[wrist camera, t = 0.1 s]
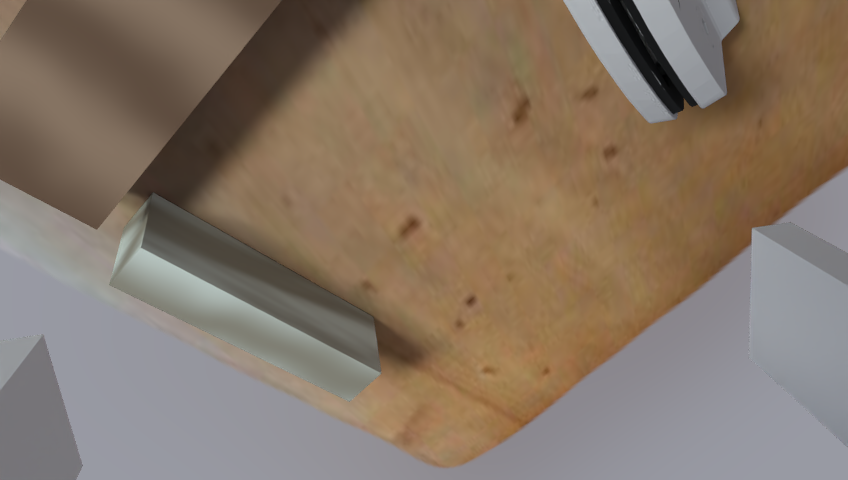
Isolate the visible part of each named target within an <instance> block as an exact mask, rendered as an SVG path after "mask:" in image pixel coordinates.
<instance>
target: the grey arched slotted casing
mask: <svg viewBox="0 0 848 480" xmlns="http://www.w3.org/2000/svg"><path fill="white" fill-rule="evenodd" d="M563 1H564V2H565V4H566V6H567V7H568V9H569V11H570V13H571V14H572V16H573V18H574V19H575V21H576V23H577V24H578V26H579V28H580V29H581V31H582V33H583V34H584V36H585V38H586V39H587V41H588V42H589V44H590V45H591V47H592V49H593V50H594V52H595V53H596V55H597V56H598V58H599V59H600V61H601V62H602V64H603V65H604V66H605V68H606V69H607V71H608V72H609V74H610V75H611V76H612V78H613V79H614V81H615V82H616V84H617V85H618V86H619V88H620V89H621V90H622V92H623V93H624V94H625V96H626V97H627V98H628V100H629V101H630V102H631V103H632V104H633V105H634V107H635V108H636V109H637V110H638V111H639V112H640V114H641V115H642V116H643V117H644V118H645V119H646V120H647V121H648V122H649V123H657V122H663V121H669V120H675V119H677V116H678V112H680V111H683V109H684V99H685V100H686V101H687V102H688V104H689V105H690V106H692V107H693V106H696V105H699V106H700V107H701V108H705V107H707V106H709V105H710V104H712V103H714V102H715V101H717V100H719V99H720V98H722V97H724V96H725V95H726V94H727V87H726V79H725V70H724V61H723V52H722V44H721V43H722V40H723V38H724V37H725V36H726V35H727V34H728V33H729V32H730V31H731V30H732V29H733V28H734V26H735V25H736V24H737V23H738V22H739V19H740V18H739V13H738V8H737V4H736V0H563ZM683 97H684V99H683Z"/></svg>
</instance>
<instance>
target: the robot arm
mask: <svg viewBox="0 0 848 480" xmlns="http://www.w3.org/2000/svg"><path fill="white" fill-rule="evenodd" d="M749 358H750V359H751V360H752V361H753V362H754V363H756V364H757V365H758V366H759V367H760V368H761V369H762V370H763V371H764V372H765V373H766V374H768V375H769V376H770V377H771V378H772V379H773V380H774V381H775V382H776V383H777V384H779V385H780V386H781V387H782V388H783V389H784V390H785V391H786V392H787V393H788V394H790V395H791V396H792V397H793V398H794V399H795V400H796V401H797V402H798V403H799V404H800V405H802V406H803V407H804V408H805V409H806V410H807V411H808V412H809V413H810V414H811V415H813V416H814V417H815V418H816V419H817V420H818V421H819V422H820V423H821V424H822V425H824V426H825V427H826V428H827V429H828V430H829V431H830V432H831V433H832V434H833V435H835V436H836V437H837V438H838V439H839V440H840V441H841V442H842V443H843V444H844V445H846V446H847V447H848V253H846V252H845V251H843V250H841V249H839V248H837V247H835V246H834V245H832V244H830V243H828V242H826V241H824V240H822V239H820V238H819V237H817V236H815V235H813V234H811V233H809V232H808V231H806V230H804V229H802V228H800V227H798V226H797V225H795V224H793V223H791V222H789V223H782V224H776V225H769V226H762V227H756V228H752V249H751V288H750V328H749ZM82 466H83V465H82V462H81V459H80V455H79V452H78V449H77V445H76V442H75V439H74V435H73V432H72V429H71V425H70V422H69V419H68V415H67V412H66V409H65V405H64V402H63V399H62V396H61V392H60V389H59V385H58V382H57V379H56V375H55V372H54V369H53V366H52V362H51V359H50V356H49V352H48V349H47V345H46V342H45V339H44V335H37V336H29V337H23V338H17V339H10V340H3V341H0V480H76V478H77V477H78V475H79V472H80V470H81V468H82Z"/></svg>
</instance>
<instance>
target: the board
mask: <svg viewBox="0 0 848 480" xmlns="http://www.w3.org/2000/svg"><path fill="white" fill-rule="evenodd" d="M281 1H282V0H27V1H26V2H25V4H24V5H23V7H22V8H21V10H20V11H19V13H18V15H17V16H16V18H15V19H14V21H13V22H12V24H11V25H10V27H9V28H8V30H7V31H6V33H5V34H4V36H3V38H2V39H1V41H0V179H1V180H2V181H4V182H6V183H8V184H10V185H12V186H14V187H16V188H18V189H20V190H22V191H24V192H26V193H27V194H29V195H31V196H33V197H35V198H37V199H39V200H41V201H43V202H45V203H47V204H49V205H51V206H52V207H54V208H56V209H58V210H60V211H62V212H64V213H66V214H68V215H70V216H72V217H74V218H76V219H78V220H79V221H81V222H83V223H85V224H87V225H89V226H91V227H93V228H95V229H98V228H99V226H100V225H101V224H102V223H103V222H104V220H105V219H106V218H107V217H108V215H109V214H110V213H111V212H112V210H113V209H114V208H115V207H116V205H117V204H118V203H119V202H120V200H121V199H122V198H123V197H124V195H125V194H126V193H127V192H128V190H129V189H130V188H131V187H132V186H133V184H134V183H135V182H136V181H137V179H138V178H139V177H140V176H141V174H142V173H143V172H144V171H145V169H146V168H147V167H148V166H149V164H150V163H151V162H152V161H153V159H154V158H155V157H156V156H157V155H158V153H159V152H160V151H161V150H162V148H163V147H164V146H165V145H166V143H167V142H168V141H169V140H170V138H171V137H172V136H173V135H174V133H175V132H176V131H177V130H178V128H179V127H180V126H181V125H182V124H183V122H184V121H185V120H186V119H187V117H188V116H189V115H190V114H191V112H192V111H193V110H194V109H195V107H196V106H197V105H198V104H199V102H200V101H201V100H202V99H203V97H204V96H205V95H206V94H207V93H208V91H209V90H210V89H211V88H212V86H213V85H214V84H215V83H216V81H217V80H218V79H219V78H220V76H221V75H222V74H223V73H224V71H225V70H226V69H227V68H228V66H229V65H230V64H231V63H232V62H233V60H234V59H235V58H236V57H237V55H238V54H239V53H240V52H241V50H242V49H243V48H244V47H245V45H246V44H247V43H248V42H249V40H250V39H251V38H252V37H253V35H254V34H255V33H256V32H257V31H258V29H259V28H260V27H261V26H262V24H263V23H264V22H265V21H266V19H267V18H268V17H269V16H270V14H271V13H272V12H273V11H274V9H275V8H276V7H277V6H278V4H279V3H280V2H281ZM109 285H110V286H112V287H114V288H117V289H119V290H121V291H123V292H125V293H127V294H129V295H131V296H133V297H135V298H137V299H139V300H141V301H143V302H145V303H147V304H149V305H151V306H154V307H156V308H158V309H160V310H162V311H164V312H166V313H168V314H170V315H172V316H174V317H176V318H178V319H180V320H182V321H184V322H186V323H188V324H191V325H193V326H195V327H197V328H199V329H201V330H203V331H205V332H207V333H209V334H211V335H213V336H215V337H217V338H219V339H221V340H223V341H225V342H228V343H230V344H232V345H234V346H236V347H238V348H240V349H242V350H244V351H246V352H248V353H250V354H252V355H254V356H256V357H258V358H260V359H262V360H265V361H267V362H269V363H271V364H273V365H275V366H277V367H279V368H281V369H283V370H285V371H287V372H289V373H291V374H293V375H295V376H297V377H300V378H302V379H304V380H306V381H308V382H310V383H312V384H314V385H316V386H318V387H320V388H322V389H324V390H326V391H328V392H330V393H332V394H334V395H337V396H339V397H341V398H343V399H345V400H347V401H349V402H350V401H351V400H352V399H353V398H354V397H355V396H357V395H358V394H359V393H360V392H361V391H362V390H363V389H364V388H366V387H367V386H368V385H369V384H370V383H371V382H372V381H373V380H375V379H376V378H377V377H378V376H379V375H380V374H381V367H380V360H379V353H378V346H377V339H376V331H375V324H374V317H372V316H371V315H369V314H367V313H365V312H364V311H362V310H360V309H358V308H357V307H355V306H353V305H351V304H349V303H348V302H346V301H344V300H342V299H341V298H339V297H337V296H335V295H334V294H332V293H330V292H328V291H326V290H325V289H323V288H321V287H319V286H318V285H316V284H314V283H312V282H311V281H309V280H307V279H305V278H304V277H302V276H300V275H298V274H296V273H295V272H293V271H291V270H289V269H288V268H286V267H284V266H282V265H281V264H279V263H277V262H275V261H273V260H272V259H270V258H268V257H266V256H265V255H263V254H261V253H259V252H258V251H256V250H254V249H252V248H250V247H249V246H247V245H245V244H243V243H242V242H240V241H238V240H236V239H235V238H233V237H231V236H229V235H227V234H226V233H224V232H222V231H220V230H219V229H217V228H215V227H213V226H212V225H210V224H208V223H206V222H204V221H203V220H201V219H199V218H197V217H196V216H194V215H192V214H190V213H189V212H187V211H185V210H183V209H181V208H180V207H178V206H176V205H174V204H173V203H171V202H169V201H167V200H166V199H164V198H162V197H160V196H158V195H157V194H155V193H152V194H151V196H150V197H149V198H148V199H147V201H146V202H145V203H144V204H143V205H142V207H141V208H140V209H139V210H138V211H137V213H136V214H135V215H134V216H133V218H132V219H131V220H130V221H129V222H128V224H127V225H126V226H125V227H124V230H123V234H122V237H121V241H120V245H119V249H118V253H117V257H116V261H115V265H114V269H113V273H112V277H111V280H110V284H109Z"/></svg>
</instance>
